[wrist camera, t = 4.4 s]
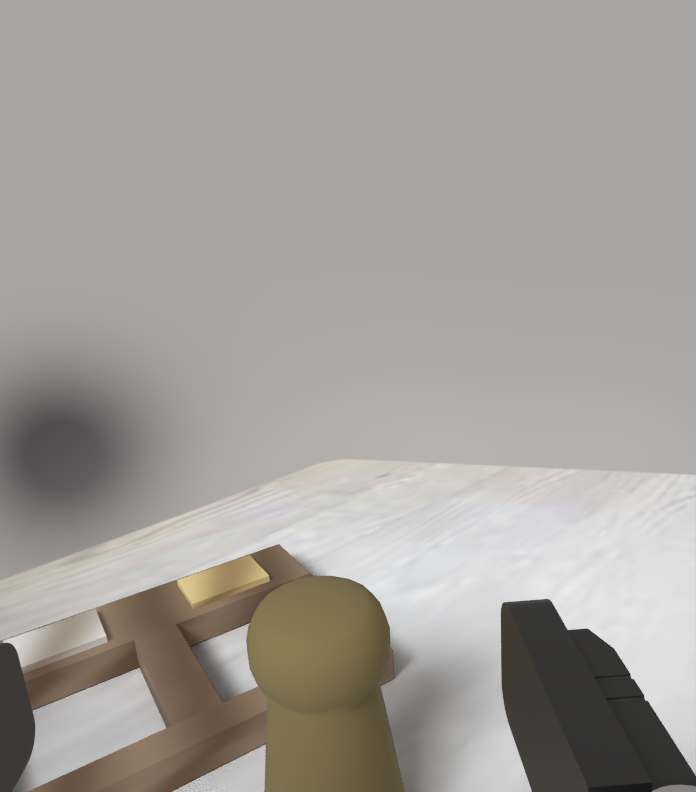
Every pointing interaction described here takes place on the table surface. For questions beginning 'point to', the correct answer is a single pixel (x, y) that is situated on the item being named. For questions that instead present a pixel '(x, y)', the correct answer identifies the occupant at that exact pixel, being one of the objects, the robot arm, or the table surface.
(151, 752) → the wooden frame
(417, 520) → the table surface
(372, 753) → the olive pawn figure
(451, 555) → the table surface
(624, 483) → the table surface
